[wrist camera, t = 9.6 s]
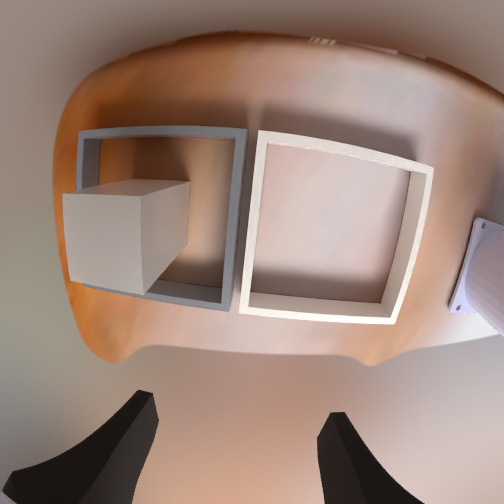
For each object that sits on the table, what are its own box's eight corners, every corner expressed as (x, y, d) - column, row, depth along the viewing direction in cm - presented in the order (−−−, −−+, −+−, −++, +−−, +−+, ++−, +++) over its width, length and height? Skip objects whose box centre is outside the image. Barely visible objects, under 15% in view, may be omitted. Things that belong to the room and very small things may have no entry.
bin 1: (248, 133, 15) (246, 128, 13) (232, 296, 18) (228, 311, 16) (95, 132, 15) (79, 131, 13) (97, 275, 18) (83, 286, 16)
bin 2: (417, 166, 15) (433, 167, 13) (384, 309, 18) (394, 324, 16) (259, 134, 15) (258, 130, 13) (241, 297, 18) (238, 313, 16)
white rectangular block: (190, 181, 16) (141, 196, 9) (187, 244, 17) (143, 295, 10) (132, 178, 16) (62, 193, 9) (131, 238, 17) (70, 280, 10)
